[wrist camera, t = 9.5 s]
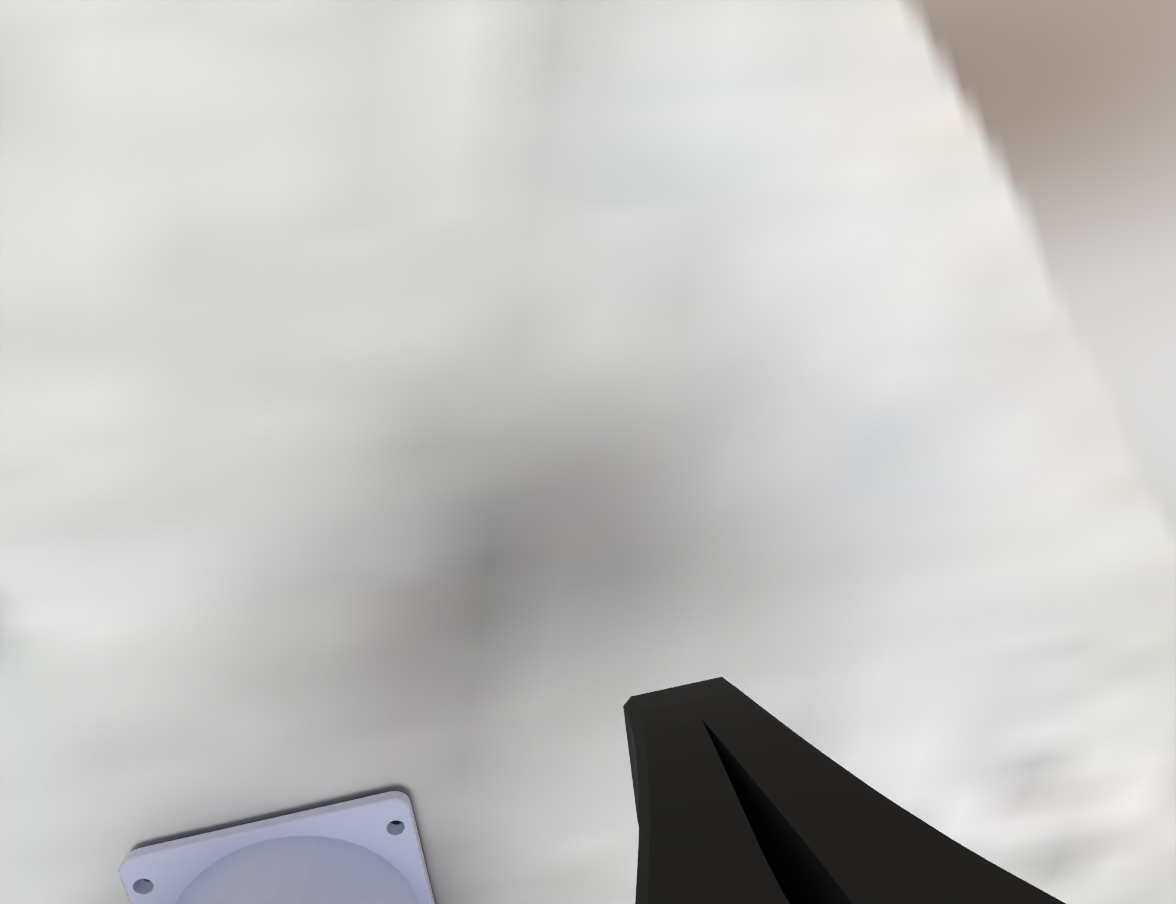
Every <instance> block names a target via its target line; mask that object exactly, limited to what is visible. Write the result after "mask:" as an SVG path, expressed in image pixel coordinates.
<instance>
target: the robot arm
mask: <svg viewBox="0 0 1176 904" xmlns="http://www.w3.org/2000/svg"><path fill="white" fill-rule="evenodd" d="M623 707H624V715H625V723H626V731H627V739H628V747H629V755H630V763H631V771H632V779H633V787H634V795H635V803H636V811H637V819H638V824H639V848H638V867H637V885H636V903H635V904H1065V903H1064V902H1062V901H1060V900H1058V899H1056V898H1054V897H1053V896H1051V895H1049V894H1047V893H1045V892H1044V891H1042V890H1040V889H1038V888H1036V887H1035V886H1033V885H1031V884H1029V883H1027V882H1026V881H1024V880H1022V879H1020V878H1018V877H1016V876H1015V875H1013V874H1011V873H1009V872H1007V871H1006V870H1004V869H1002V868H1000V867H998V866H997V865H995V864H993V863H991V862H989V861H988V860H986V859H984V858H983V857H981V856H979V855H977V854H976V853H974V852H972V851H971V850H969V849H967V848H966V847H964V846H962V845H961V844H959V843H957V842H956V841H954V840H952V839H951V838H949V837H947V836H946V835H944V834H943V833H941V832H939V831H938V830H936V829H935V828H933V827H932V826H930V825H928V824H927V823H925V822H924V821H922V820H921V819H919V818H917V817H916V816H914V815H913V814H911V813H909V812H908V811H906V810H905V809H903V808H902V807H900V806H898V805H897V804H895V803H894V802H892V801H891V800H889V799H888V798H886V797H885V796H883V795H882V794H880V793H879V792H877V791H876V790H874V789H873V788H871V787H870V786H868V785H867V784H866V783H864V782H863V781H861V780H860V779H859V778H857V777H856V776H854V775H853V774H851V773H850V772H849V771H847V770H846V769H844V768H843V767H842V766H840V765H839V764H837V763H836V762H834V761H833V760H832V759H830V758H829V757H827V756H826V755H825V754H823V753H822V752H820V751H819V750H818V749H816V748H815V747H814V746H812V745H811V744H810V743H808V742H807V741H805V740H804V739H803V738H801V737H800V736H799V735H797V734H796V733H795V732H793V731H792V730H791V729H790V728H788V727H787V726H786V725H784V724H783V723H782V722H780V721H779V720H778V719H776V718H775V717H774V716H772V715H771V714H770V713H769V712H767V711H766V710H765V709H763V708H762V707H761V706H759V705H758V704H757V703H756V702H754V701H753V700H752V699H750V698H749V697H748V696H746V695H745V694H744V693H743V692H741V691H740V690H739V689H737V688H736V687H735V686H733V685H732V684H731V683H729V682H728V681H727V680H725V679H724V678H723V677H719V678H715V679H710V680H705V681H701V682H696V683H691V684H687V685H682V686H678V687H673V688H668V689H664V690H659V691H654V692H650V693H645V694H641V695H636V696H631V697H630V699H629V700H628V701H627V702H626V704H625V705H624V706H623ZM394 820H399V821H401V822H403V823H401V824H399V825H394V824H392V823H390V822H392V821H394ZM119 876H120V878H121V881H122V883H123V886H124V888H125V891H126V893H127V896H128V898H129V901H130V903H131V904H435V902H434V898H433V893H432V889H431V885H430V881H429V877H428V872H427V868H426V864H425V860H424V856H423V851H422V847H421V843H420V839H419V835H418V830H417V826H416V822H415V818H414V814H413V809H412V805H411V801H410V799H409V797H408V796H407V795H406V794H404V793H402V792H399V791H390V792H386V793H381V794H377V795H372V796H368V797H363V798H359V799H355V800H350V801H346V802H341V803H337V804H332V805H328V806H323V807H319V808H315V809H310V810H306V811H301V812H297V813H292V814H288V815H283V816H279V817H275V818H270V819H266V820H261V821H257V822H252V823H248V824H243V825H239V826H235V827H230V828H226V829H221V830H217V831H212V832H208V833H204V834H199V835H195V836H190V837H186V838H181V839H177V840H172V841H168V842H164V843H159V844H155V845H150V846H146V847H141V848H137V849H135V850H132V851H131V852H130V853H129V854H127V855H126V857H125V859H124V860H123V862H122V864H121V866H120V868H119ZM142 879H147V880H150V881H151V882H146V881H144V880H142Z"/></svg>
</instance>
